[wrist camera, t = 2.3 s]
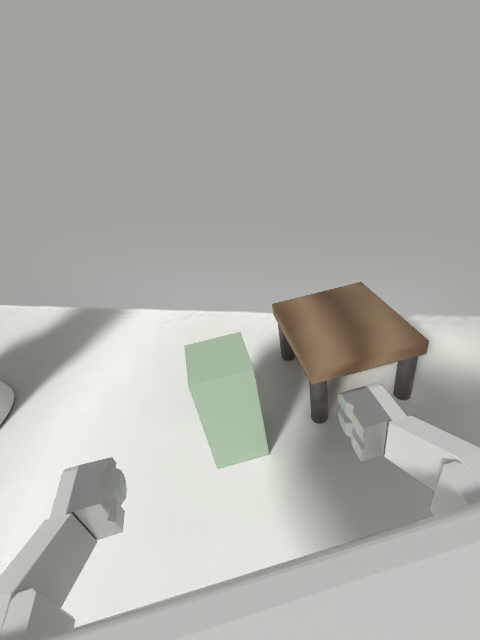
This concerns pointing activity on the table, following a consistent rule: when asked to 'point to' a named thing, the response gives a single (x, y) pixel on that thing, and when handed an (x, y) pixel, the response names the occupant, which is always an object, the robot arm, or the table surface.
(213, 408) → the green block
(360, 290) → the peg shelf
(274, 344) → the table surface
